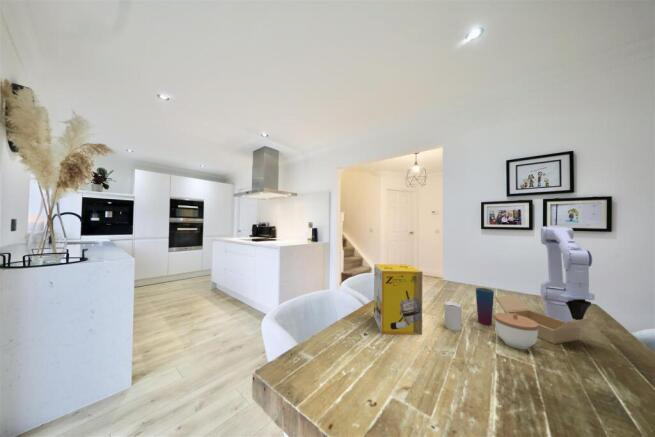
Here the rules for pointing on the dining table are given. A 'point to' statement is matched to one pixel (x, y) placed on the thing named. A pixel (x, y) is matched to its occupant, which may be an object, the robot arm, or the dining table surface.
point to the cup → (484, 305)
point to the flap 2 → (575, 324)
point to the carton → (550, 327)
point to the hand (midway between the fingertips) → (577, 319)
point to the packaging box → (398, 299)
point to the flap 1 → (510, 303)
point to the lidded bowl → (516, 330)
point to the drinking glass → (453, 315)
